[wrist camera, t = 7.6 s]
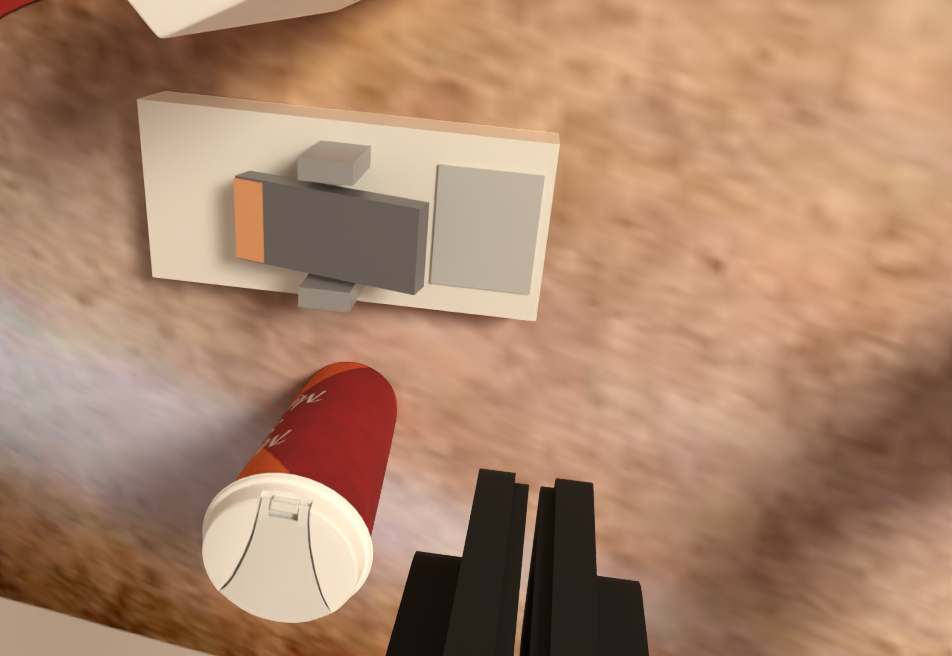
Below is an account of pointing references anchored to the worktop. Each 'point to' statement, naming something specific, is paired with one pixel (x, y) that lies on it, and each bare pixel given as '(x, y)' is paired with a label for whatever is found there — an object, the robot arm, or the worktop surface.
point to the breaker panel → (357, 167)
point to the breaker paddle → (331, 231)
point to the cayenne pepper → (11, 5)
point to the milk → (224, 13)
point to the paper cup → (306, 501)
